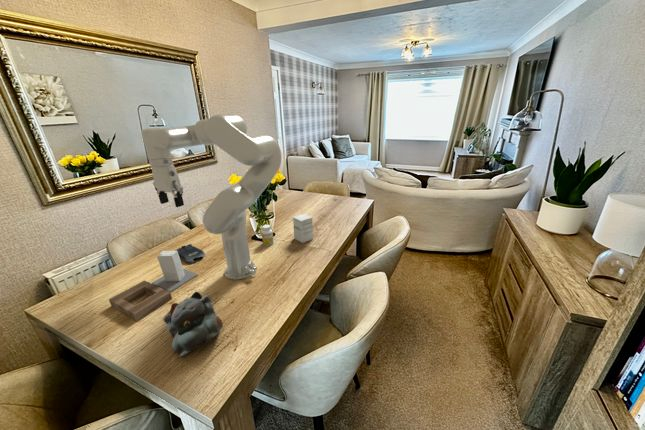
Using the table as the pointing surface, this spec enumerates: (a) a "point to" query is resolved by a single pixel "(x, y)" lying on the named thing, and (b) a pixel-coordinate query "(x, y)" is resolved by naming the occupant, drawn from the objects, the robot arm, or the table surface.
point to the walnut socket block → (144, 307)
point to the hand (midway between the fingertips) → (172, 204)
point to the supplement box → (303, 228)
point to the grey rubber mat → (174, 285)
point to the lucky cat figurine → (192, 323)
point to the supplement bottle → (267, 235)
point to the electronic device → (190, 253)
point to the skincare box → (171, 265)
